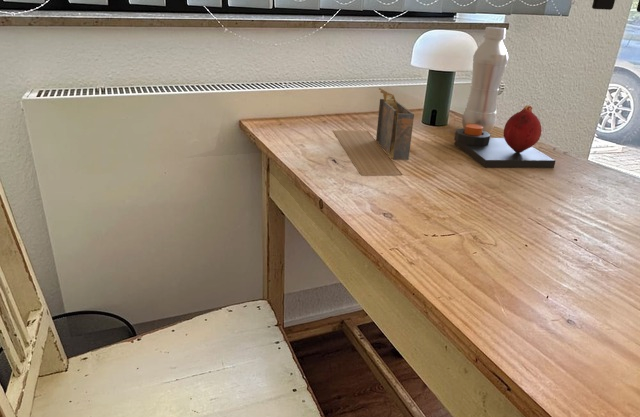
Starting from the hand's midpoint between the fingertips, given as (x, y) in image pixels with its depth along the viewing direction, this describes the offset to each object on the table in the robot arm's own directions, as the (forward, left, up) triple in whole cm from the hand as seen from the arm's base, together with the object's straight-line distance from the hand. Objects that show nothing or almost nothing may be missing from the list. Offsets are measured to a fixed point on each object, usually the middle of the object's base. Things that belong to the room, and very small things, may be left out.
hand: (623, 10), depth 72 cm
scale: (+11, -6, -24) cm, 27 cm away
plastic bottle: (+9, -21, -24) cm, 33 cm away
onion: (+10, -4, -23) cm, 25 cm away
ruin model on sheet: (+30, -9, -24) cm, 40 cm away
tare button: (+15, -10, -22) cm, 28 cm away
